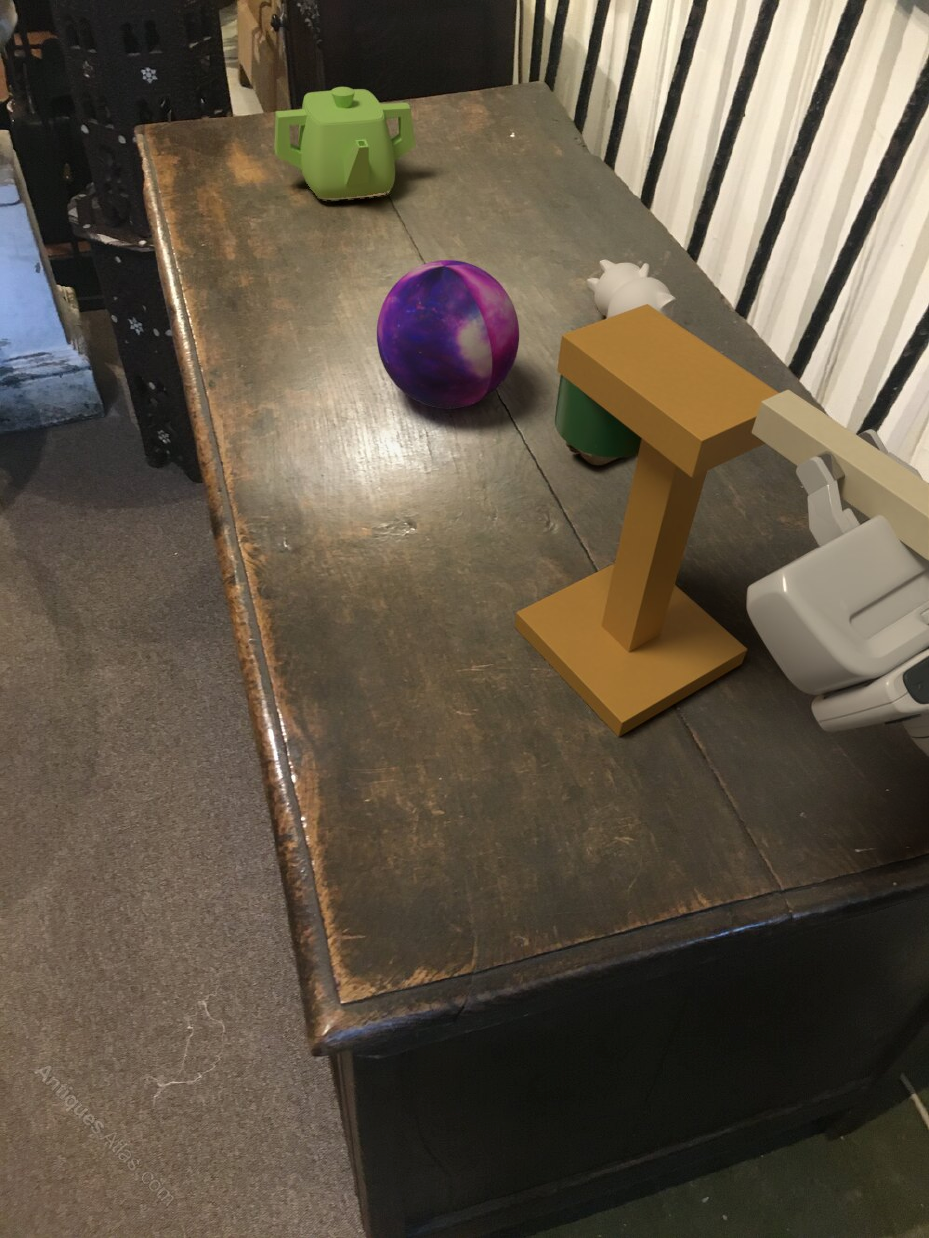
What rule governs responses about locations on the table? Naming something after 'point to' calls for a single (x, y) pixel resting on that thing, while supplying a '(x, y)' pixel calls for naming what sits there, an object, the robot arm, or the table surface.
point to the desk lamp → (644, 512)
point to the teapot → (345, 142)
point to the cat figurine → (629, 290)
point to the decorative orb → (448, 334)
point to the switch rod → (849, 465)
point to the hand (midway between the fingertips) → (832, 447)
